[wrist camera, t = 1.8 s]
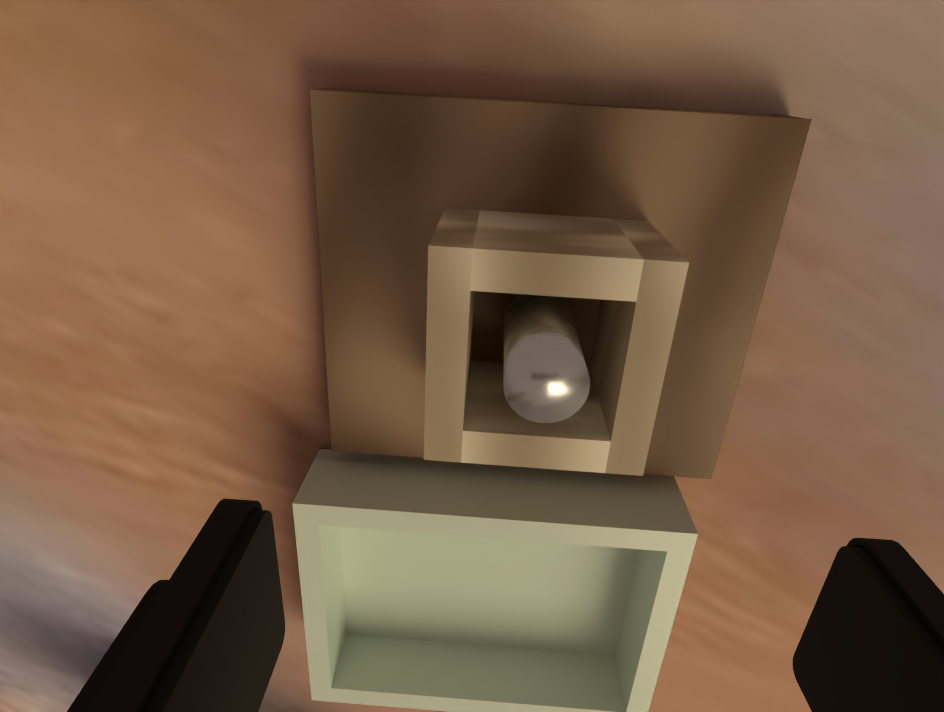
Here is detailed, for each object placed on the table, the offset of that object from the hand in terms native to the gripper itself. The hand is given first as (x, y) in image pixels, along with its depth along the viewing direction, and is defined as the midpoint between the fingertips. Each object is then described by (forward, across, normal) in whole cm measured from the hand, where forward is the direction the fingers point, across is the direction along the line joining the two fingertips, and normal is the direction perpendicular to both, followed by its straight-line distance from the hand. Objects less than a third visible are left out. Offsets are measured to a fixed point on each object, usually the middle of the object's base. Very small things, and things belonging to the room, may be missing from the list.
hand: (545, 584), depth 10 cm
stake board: (+15, -1, 0) cm, 15 cm away
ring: (+13, -1, 0) cm, 13 cm away
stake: (+13, -1, 0) cm, 13 cm away
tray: (+15, 0, +14) cm, 20 cm away
